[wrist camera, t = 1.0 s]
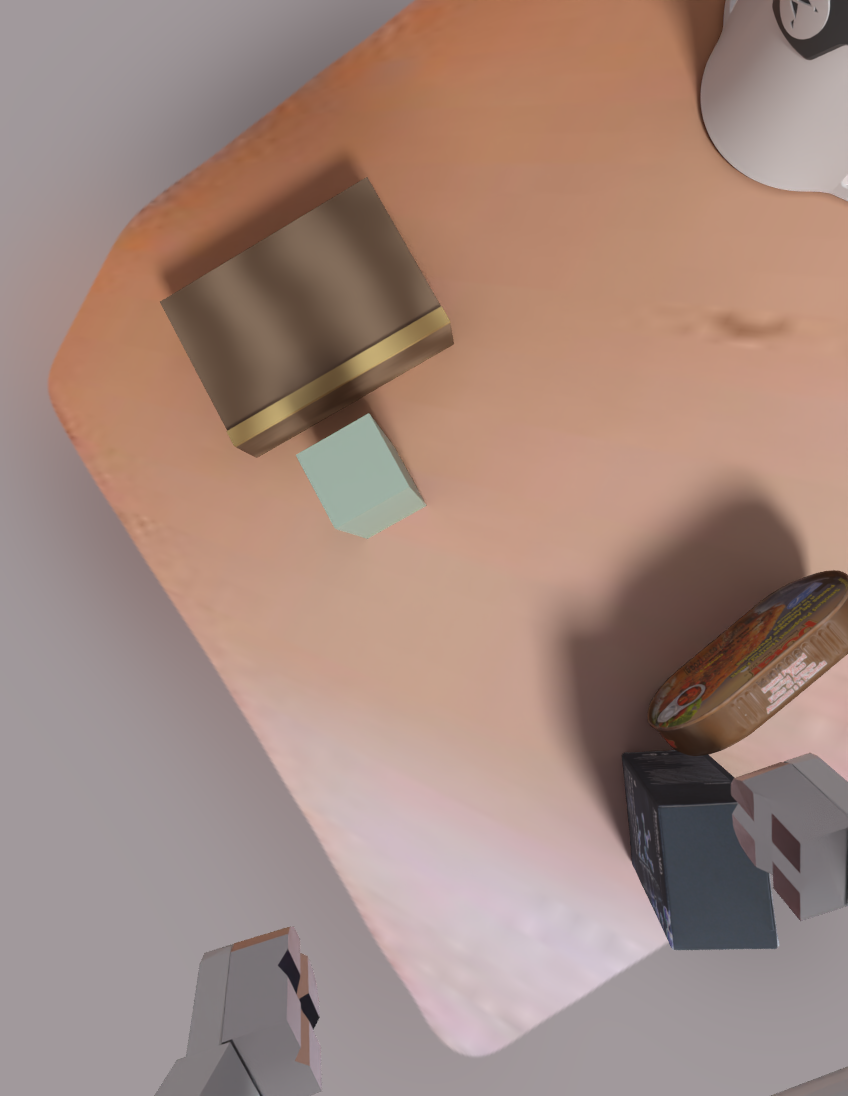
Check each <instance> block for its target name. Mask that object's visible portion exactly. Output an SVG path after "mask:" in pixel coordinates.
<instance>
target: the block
mask: <svg viewBox="0 0 848 1096" xmlns="http://www.w3.org/2000/svg"><path fill="white" fill-rule="evenodd" d="M296 456H297V458H298V460H299V462H300V464H301V466H302V468H303V470H304V471H305V473H306V475H307V477H308V479H309V481H310V483H311V485H312V486H313V488H314V490H315V492H316V494H317V496H318V498H319V500H320V501H321V503H322V505H323V507H324V509H325V511H326V513H327V515H328V516H329V518H330V520H331V522H332V524H333V526H334V528H335V529H338V530H341V531H344V532H347V533H351V534H354V535H357V536H360V537H363V538H367V539H368V538H370V537H372V536H373V535H375V534H377V533H379V532H381V531H382V530H384V529H386V528H388V527H389V526H391V525H393V524H395V523H397V522H398V521H400V520H402V519H404V518H406V517H407V516H409V515H411V514H413V513H415V512H416V511H418V510H420V509H422V508H423V507H425V506H427V505H426V504H425V502H424V500H423V498H422V496H421V495H420V493H419V491H418V489H417V487H416V485H415V484H414V482H413V480H412V478H411V476H410V474H409V473H408V471H407V469H406V467H405V465H404V464H403V462H402V460H401V458H400V456H399V454H398V453H397V451H396V449H395V447H394V446H393V444H392V443H391V442H390V440H389V439H388V438H387V436H386V435H385V434H384V432H383V431H382V430H381V428H380V427H379V426H378V424H377V423H376V422H375V420H374V419H373V418H372V416H371V415H370V414H369V413H368V414H366V415H365V416H363V417H361V418H360V419H358V420H356V421H354V422H353V423H351V424H349V425H347V426H346V427H344V428H342V429H340V430H339V431H337V432H335V433H333V434H332V435H330V436H328V437H326V438H325V439H323V440H321V441H319V442H318V443H316V444H314V445H312V446H311V447H309V448H307V449H306V450H304V451H302V452H300V453H299V454H297V455H296Z"/></svg>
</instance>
